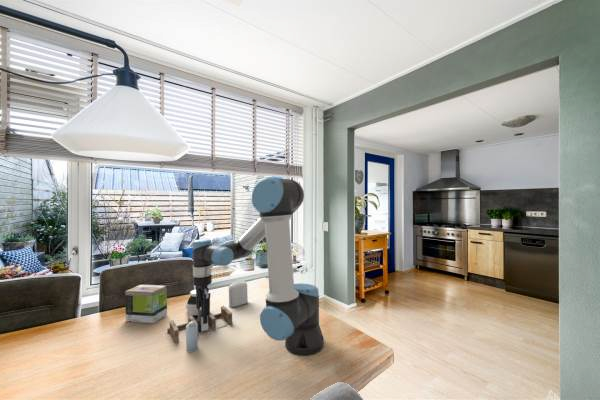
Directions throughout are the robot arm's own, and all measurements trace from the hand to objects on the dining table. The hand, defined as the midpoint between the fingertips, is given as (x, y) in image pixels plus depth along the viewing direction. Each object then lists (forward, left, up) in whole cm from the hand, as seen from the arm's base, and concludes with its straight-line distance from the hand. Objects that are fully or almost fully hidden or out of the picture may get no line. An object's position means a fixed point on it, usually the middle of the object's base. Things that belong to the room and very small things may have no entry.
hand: (203, 328), depth 109 cm
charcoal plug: (0, 0, -1) cm, 1 cm away
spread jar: (+19, -2, -1) cm, 19 cm away
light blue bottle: (-11, +7, -1) cm, 13 cm away
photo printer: (+15, -23, -1) cm, 27 cm away
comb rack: (+3, 0, -1) cm, 3 cm away
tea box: (+29, +18, -1) cm, 34 cm away
